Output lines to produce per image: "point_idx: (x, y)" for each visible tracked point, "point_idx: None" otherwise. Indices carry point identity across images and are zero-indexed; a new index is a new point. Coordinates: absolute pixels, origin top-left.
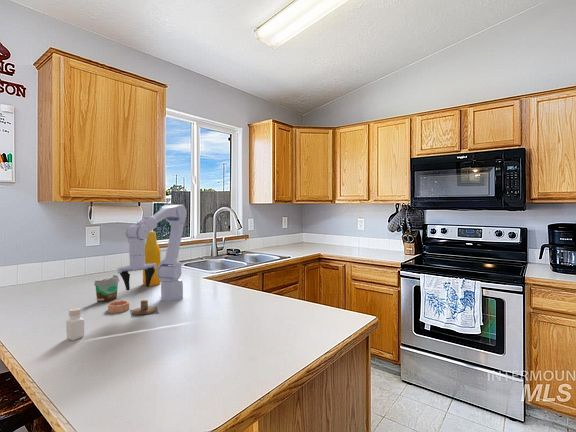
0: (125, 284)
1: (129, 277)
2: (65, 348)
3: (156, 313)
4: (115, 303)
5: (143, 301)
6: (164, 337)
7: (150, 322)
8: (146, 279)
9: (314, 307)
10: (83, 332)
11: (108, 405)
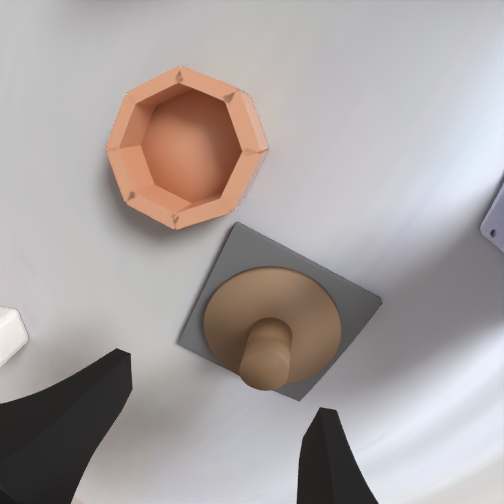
0: (82, 381)
1: (71, 497)
2: None
3: (290, 394)
4: (185, 85)
5: (251, 379)
6: (188, 488)
7: (218, 422)
8: (316, 481)
9: None
10: (19, 348)
11: (76, 490)
